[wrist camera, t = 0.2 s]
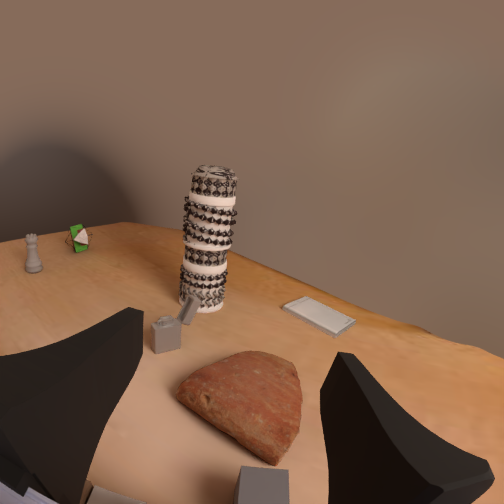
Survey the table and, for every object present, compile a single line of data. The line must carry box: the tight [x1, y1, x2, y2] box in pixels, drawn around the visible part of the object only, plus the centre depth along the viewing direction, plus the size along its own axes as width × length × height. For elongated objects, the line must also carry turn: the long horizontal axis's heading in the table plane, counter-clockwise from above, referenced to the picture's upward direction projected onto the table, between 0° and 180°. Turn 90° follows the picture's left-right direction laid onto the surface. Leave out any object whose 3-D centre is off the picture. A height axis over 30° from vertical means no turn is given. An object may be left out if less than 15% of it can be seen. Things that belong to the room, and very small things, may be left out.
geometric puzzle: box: [65, 224, 93, 253], centre depth 70 cm, size 7×7×8 cm
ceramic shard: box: [176, 351, 303, 466], centre depth 35 cm, size 15×6×15 cm
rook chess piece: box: [25, 234, 43, 273], centre depth 55 cm, size 4×4×8 cm
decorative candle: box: [179, 165, 239, 313], centre depth 54 cm, size 9×9×25 cm
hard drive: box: [282, 296, 356, 338], centre depth 59 cm, size 2×8×12 cm
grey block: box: [233, 466, 289, 504], centre depth 20 cm, size 4×4×5 cm
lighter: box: [151, 294, 201, 354], centre depth 42 cm, size 7×2×8 cm, turn 128°
